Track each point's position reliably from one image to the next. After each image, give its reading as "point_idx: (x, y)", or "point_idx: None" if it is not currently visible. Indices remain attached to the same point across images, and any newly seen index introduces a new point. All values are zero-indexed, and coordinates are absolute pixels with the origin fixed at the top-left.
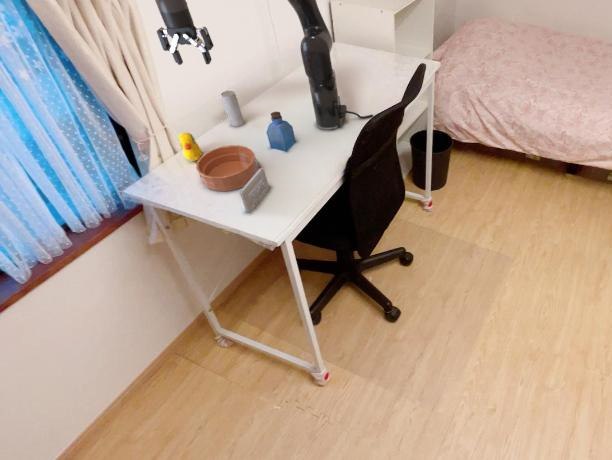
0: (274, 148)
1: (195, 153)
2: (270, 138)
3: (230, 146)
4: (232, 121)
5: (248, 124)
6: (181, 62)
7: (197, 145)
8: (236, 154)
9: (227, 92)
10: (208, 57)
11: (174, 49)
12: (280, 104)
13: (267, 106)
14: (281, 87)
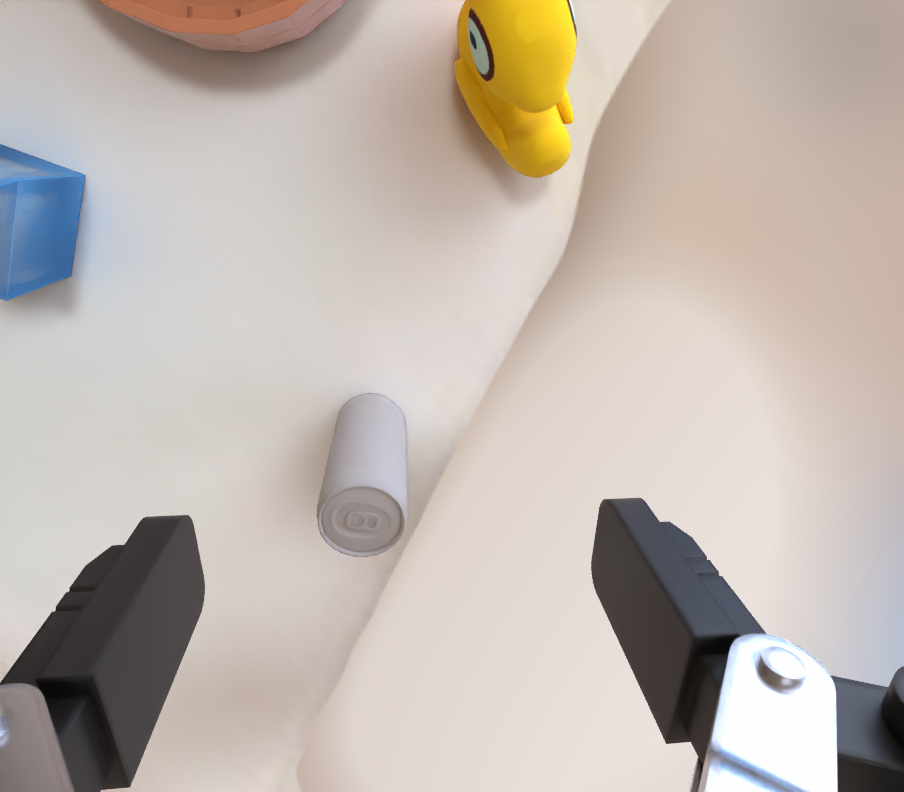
0: (55, 165)
1: (467, 1)
2: (24, 171)
3: (223, 20)
4: (377, 405)
5: (314, 416)
6: (600, 547)
7: (487, 120)
8: (203, 6)
9: (371, 537)
10: (61, 609)
11: (729, 707)
12: (217, 586)
13: (276, 568)
14: (270, 709)
